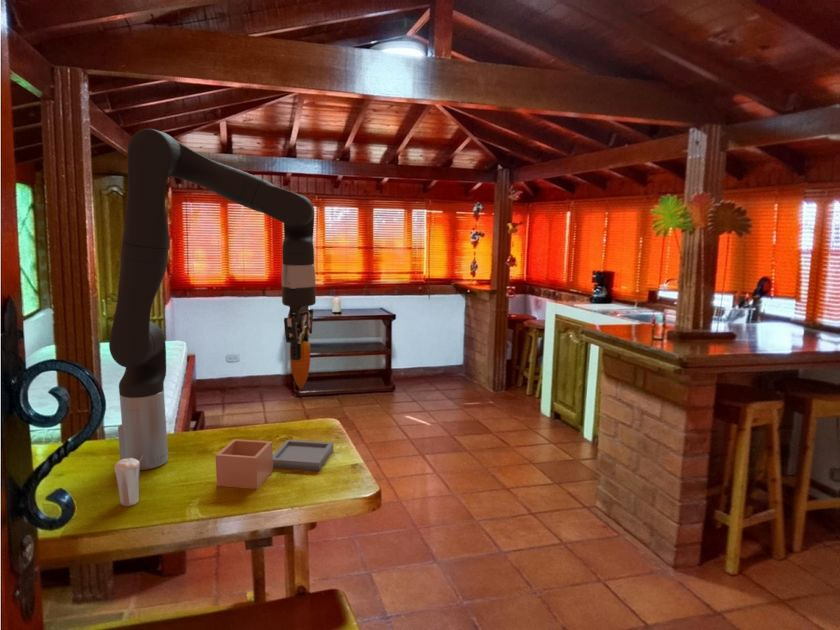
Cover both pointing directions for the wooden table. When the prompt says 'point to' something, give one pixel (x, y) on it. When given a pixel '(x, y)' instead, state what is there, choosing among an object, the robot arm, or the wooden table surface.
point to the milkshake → (128, 480)
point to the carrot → (301, 363)
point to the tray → (302, 455)
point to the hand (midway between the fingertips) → (299, 356)
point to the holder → (244, 463)
